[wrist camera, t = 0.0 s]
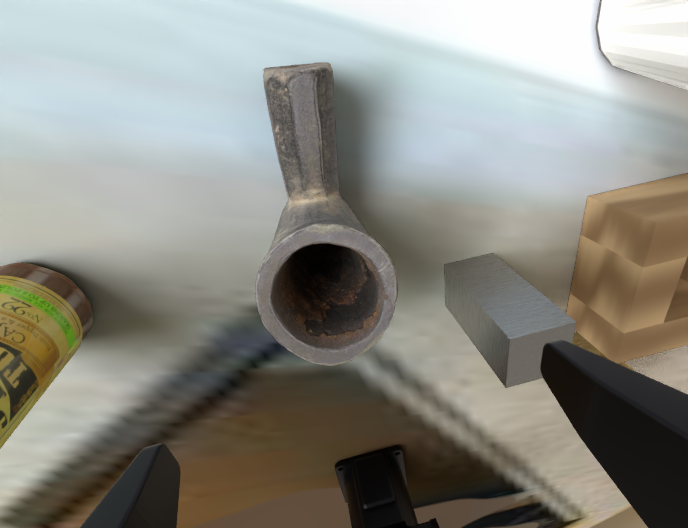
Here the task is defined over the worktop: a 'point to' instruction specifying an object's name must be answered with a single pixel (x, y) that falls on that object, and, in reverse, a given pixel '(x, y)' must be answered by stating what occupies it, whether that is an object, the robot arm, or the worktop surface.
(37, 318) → the sauce bottle
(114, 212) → the worktop surface
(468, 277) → the square bit
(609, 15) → the cup
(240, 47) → the worktop surface
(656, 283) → the socket block
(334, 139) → the pipe
